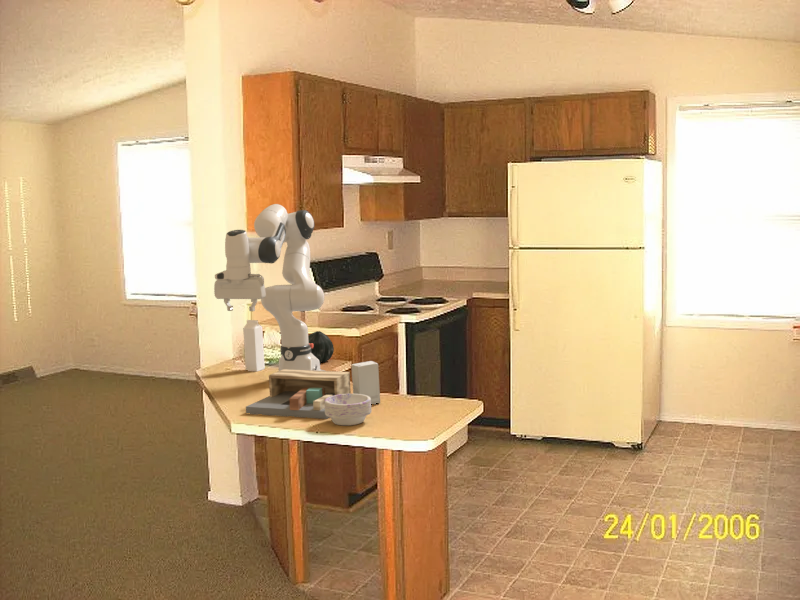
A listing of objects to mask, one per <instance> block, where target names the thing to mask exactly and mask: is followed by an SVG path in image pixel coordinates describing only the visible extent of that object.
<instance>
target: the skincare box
mask: <svg viewBox="0 0 800 600" xmlns="http://www.w3.org/2000/svg"><path fill="white" fill-rule="evenodd" d="M351 378H352V394H363V395H367V396H369V397H370V398H371V404H374V405H377V404H376V403H379V404H381V391H380V390H381V389H380V375H379V363H377V362H375V361H373V360H369V361H368V360H367V361H362V362H358V363H352V364H351Z"/></svg>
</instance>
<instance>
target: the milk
mask: <svg viewBox="0 0 800 600" xmlns="http://www.w3.org/2000/svg"><path fill="white" fill-rule="evenodd" d="M242 330H243V344H244V345H243V346H244V347H243V348H244V362H245V364H244V365H245V371H246V370H248V371H247V372H260V371H263V370H265V367H266V366H265V365H266V364H265V352H264V351H265V350H264V349H265V348H264V334H263V333H264V332H263V326H262V325H260V324H259V321H258V320H255V319H247V320H246V324H245V325H244V326H243V328H242Z"/></svg>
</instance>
